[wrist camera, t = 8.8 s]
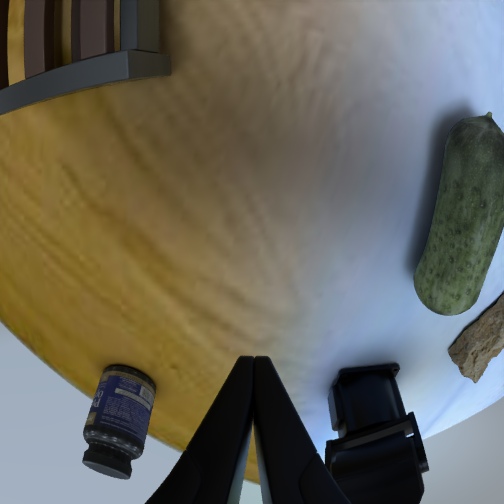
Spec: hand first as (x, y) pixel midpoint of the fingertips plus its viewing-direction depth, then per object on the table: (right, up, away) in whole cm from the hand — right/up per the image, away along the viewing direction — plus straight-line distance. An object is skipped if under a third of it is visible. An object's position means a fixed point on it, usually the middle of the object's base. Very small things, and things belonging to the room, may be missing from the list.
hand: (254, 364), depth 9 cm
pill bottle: (-13, -10, +21) cm, 27 cm away
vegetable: (+16, +6, +8) cm, 18 cm away
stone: (+26, -6, +12) cm, 30 cm away
